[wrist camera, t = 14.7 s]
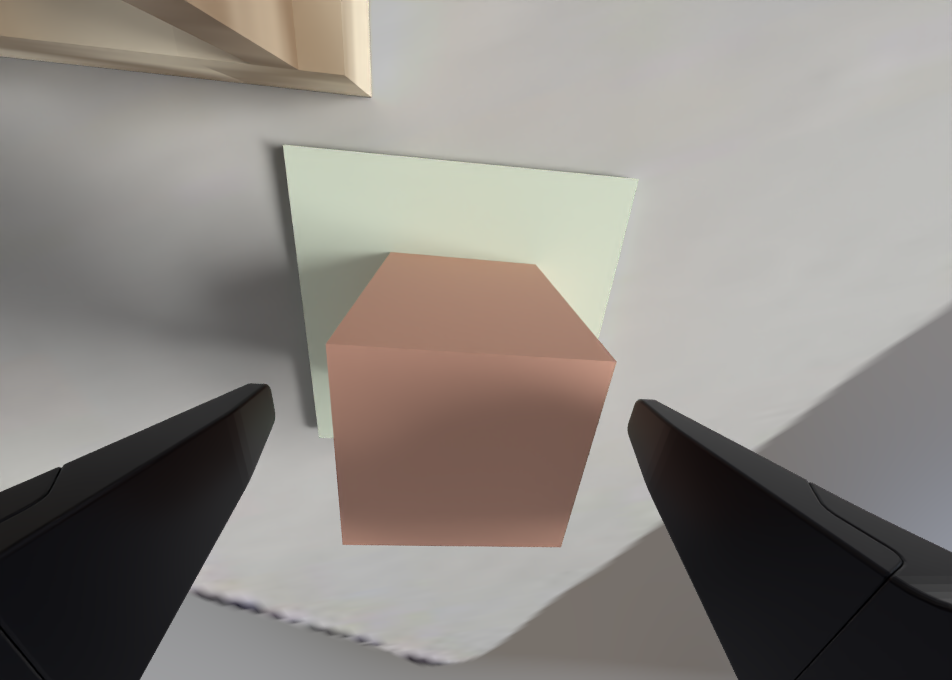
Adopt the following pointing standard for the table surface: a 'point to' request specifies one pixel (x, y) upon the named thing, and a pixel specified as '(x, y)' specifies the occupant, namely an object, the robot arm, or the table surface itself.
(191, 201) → the table surface
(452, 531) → the block
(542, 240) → the sage mat
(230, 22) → the open storage box
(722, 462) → the robot arm
